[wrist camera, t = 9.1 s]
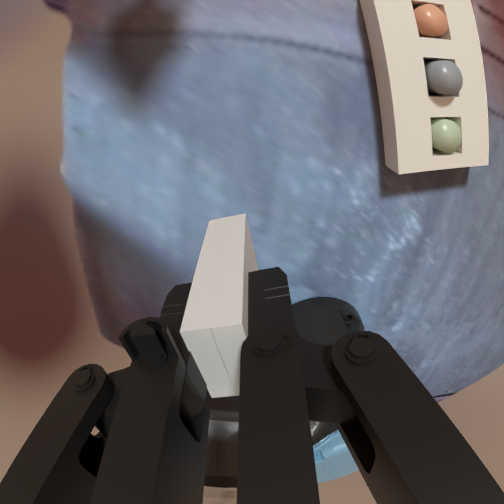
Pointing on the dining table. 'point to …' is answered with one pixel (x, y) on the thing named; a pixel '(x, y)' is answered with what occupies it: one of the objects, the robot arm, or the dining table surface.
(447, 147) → the sage button
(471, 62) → the button panel
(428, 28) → the terracotta button
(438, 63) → the grey button
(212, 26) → the dining table surface
